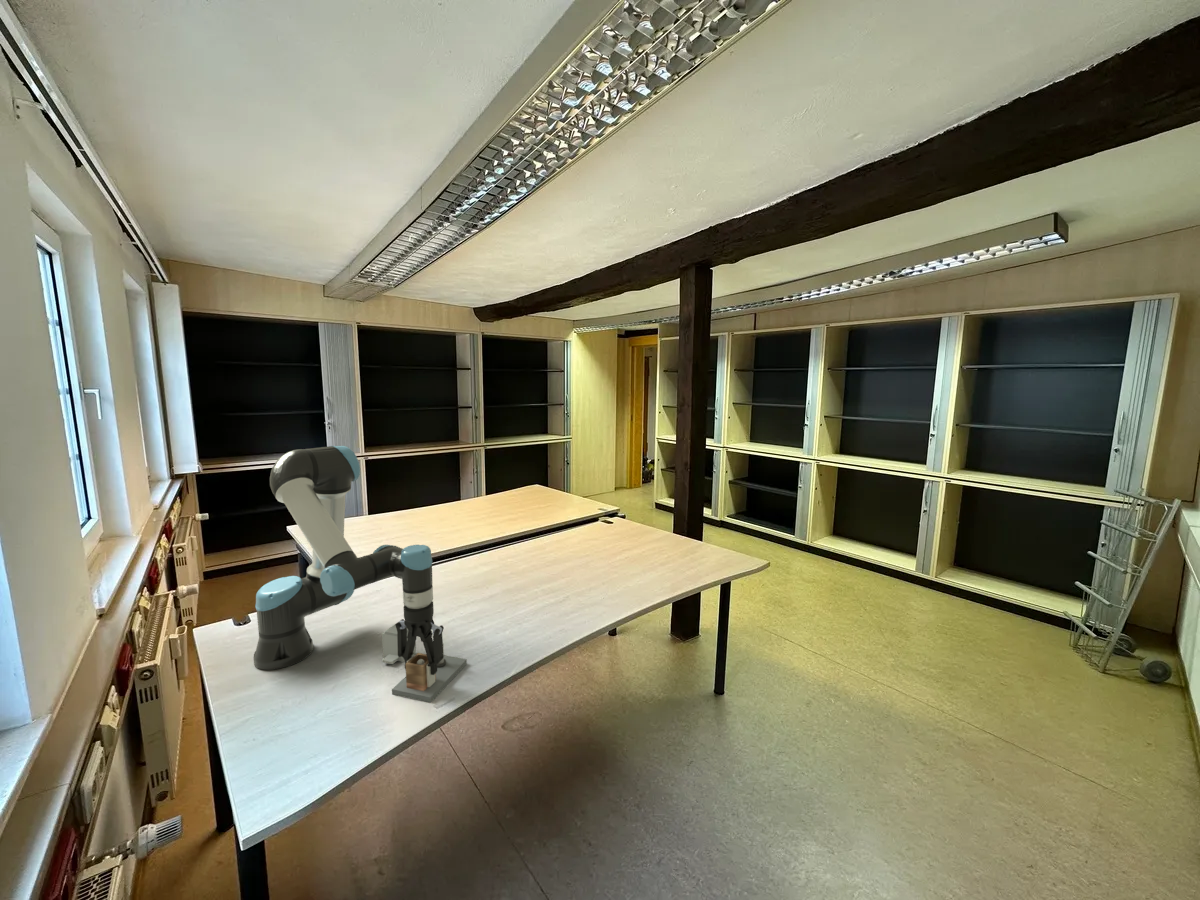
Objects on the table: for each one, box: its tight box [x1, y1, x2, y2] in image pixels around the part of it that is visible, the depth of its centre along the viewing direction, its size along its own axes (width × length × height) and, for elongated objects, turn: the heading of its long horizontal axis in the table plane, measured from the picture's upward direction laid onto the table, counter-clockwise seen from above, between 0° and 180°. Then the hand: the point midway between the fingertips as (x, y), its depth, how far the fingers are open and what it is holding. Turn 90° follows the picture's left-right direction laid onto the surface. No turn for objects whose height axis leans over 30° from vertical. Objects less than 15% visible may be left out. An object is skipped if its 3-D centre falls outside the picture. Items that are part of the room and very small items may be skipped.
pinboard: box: [391, 647, 468, 703], centre depth 132 cm, size 12×18×8 cm, turn 165°
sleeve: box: [405, 652, 436, 691], centre depth 127 cm, size 5×5×7 cm
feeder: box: [381, 624, 417, 665], centre depth 141 cm, size 8×8×9 cm
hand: (421, 682), depth 128 cm, fingers closed on sleeve, 5 cm apart
